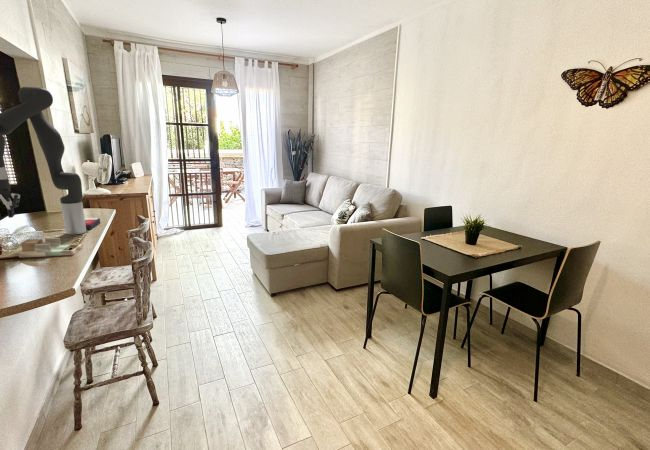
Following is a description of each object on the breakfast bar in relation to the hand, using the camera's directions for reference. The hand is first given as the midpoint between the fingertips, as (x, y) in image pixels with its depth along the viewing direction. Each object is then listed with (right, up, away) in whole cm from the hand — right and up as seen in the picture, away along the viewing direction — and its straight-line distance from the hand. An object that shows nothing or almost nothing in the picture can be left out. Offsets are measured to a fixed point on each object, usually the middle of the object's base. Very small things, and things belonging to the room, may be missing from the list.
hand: (4, 217), depth 140 cm
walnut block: (+7, -14, +6) cm, 17 cm away
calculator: (-3, -5, +51) cm, 52 cm away
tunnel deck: (+14, -16, +9) cm, 23 cm away
